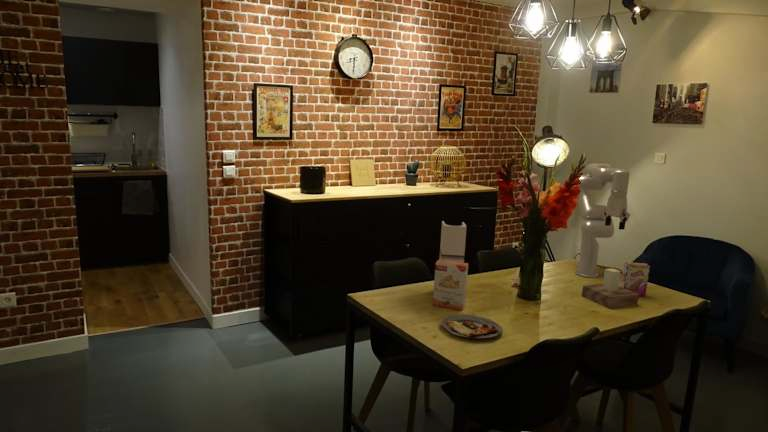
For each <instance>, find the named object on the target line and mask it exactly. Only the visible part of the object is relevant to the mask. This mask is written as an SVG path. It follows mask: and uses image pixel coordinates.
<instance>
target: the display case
mask: <svg viewBox="0 0 768 432" xmlns="http://www.w3.org/2000/svg"><path fill="white" fill-rule="evenodd" d="M440 230H441V231H440V245H439V246H440V247H439V259H441V260H448V261H454V262H461V263H465V254H466V253H465V252H466V251H465V250H466V239H467V238H466V237H467V224H466V223H465V222H464V221H462V222H461V225H450V224H446V222H445V221H444V220H442V221H441V229H440ZM439 259H438V260H439Z"/></svg>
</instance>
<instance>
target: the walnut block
mask: <svg viewBox="0 0 768 432" xmlns="http://www.w3.org/2000/svg"><path fill="white" fill-rule="evenodd" d="M581 297H583V298H585V299H587V300H590V301H592V302H594V303H596V304H599V305H601V306H602V305H603V306H602V307H604V306H605V308H607V309H613V308H615V307H617V308H625V307H633V305H634V306H638V303H639V297H640V296H639V294H637V293H635V292H632V291H630V290H627V289H625V288H622V287H621V286H620V285H619V289H618V291H614V292H609V291H607V290H605V289H603V283H596V284H594V283H593V284H584V285H582V292H581ZM624 306H625V307H624Z"/></svg>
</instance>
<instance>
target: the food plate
mask: <svg viewBox="0 0 768 432" xmlns="http://www.w3.org/2000/svg"><path fill="white" fill-rule="evenodd" d="M461 323H462V324H461ZM440 326H441V327H443V328H444V329H445V330H446V331H448V332H449V333H451V334H452V335H453V336H457V337H461V338H466V339H474V340H480V339H492V338H497V337H499V336H500V335H501V334H503V330H504V329H503V327H502V326H501V325H499V324H498V323H496V322H495V321H493V320H492V319H490V318H487V317H483V316H479V315H473V314H454V315H449V316H447V317H446V316H445V317H443V318H442V319H441V320H440Z"/></svg>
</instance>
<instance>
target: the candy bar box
mask: <svg viewBox="0 0 768 432" xmlns="http://www.w3.org/2000/svg"><path fill="white" fill-rule="evenodd" d="M623 265H624V266H623V271H622V272H623V273H622V279H621V286H620V287H622V288H625V289H627V290H630V291H632V292H635V293H637V294H639V297H646V294H647V287H648V282H649V281H648V280H649V276H650V275H649V274H650V269H651V266H650V265H649V264H648V263H642V262H641V263H640V262H633V261H632V262H631V261H630V262H629V261H624V264H623Z"/></svg>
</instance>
